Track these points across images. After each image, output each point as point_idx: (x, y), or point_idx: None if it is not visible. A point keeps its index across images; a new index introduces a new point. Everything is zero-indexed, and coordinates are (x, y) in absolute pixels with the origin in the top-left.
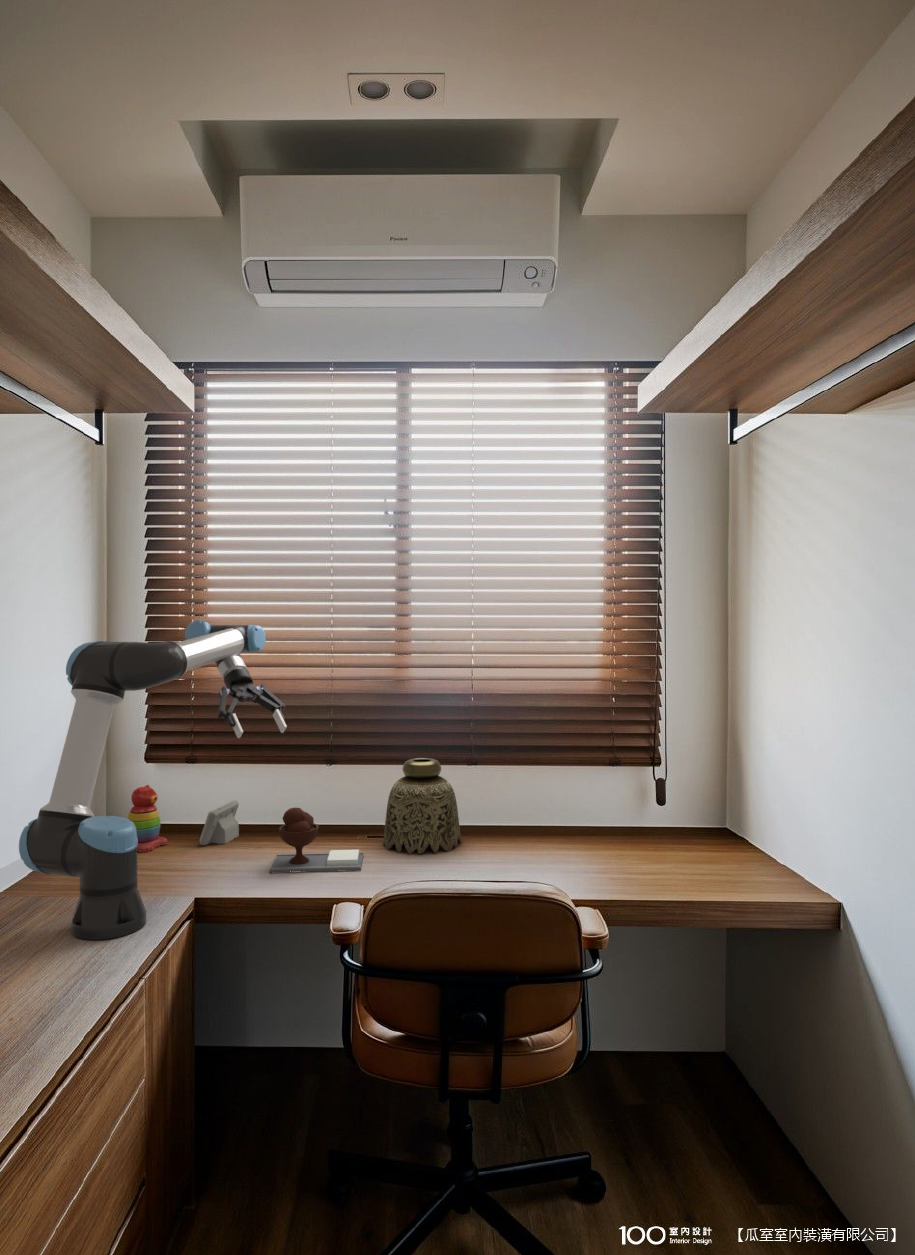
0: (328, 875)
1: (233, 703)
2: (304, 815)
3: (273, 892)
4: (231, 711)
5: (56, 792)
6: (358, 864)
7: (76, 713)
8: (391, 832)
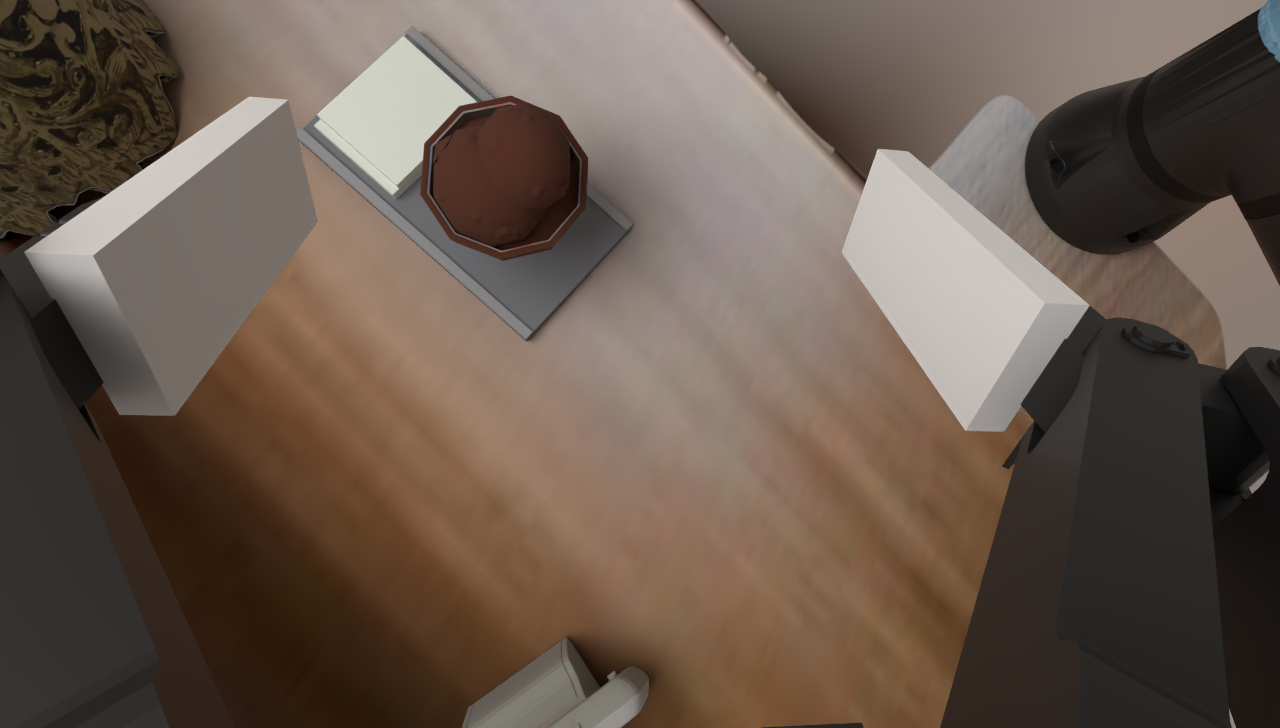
0: (516, 76)
1: (1160, 497)
2: (499, 110)
3: (713, 81)
4: (1119, 344)
5: None
6: None
7: None
8: (127, 77)
